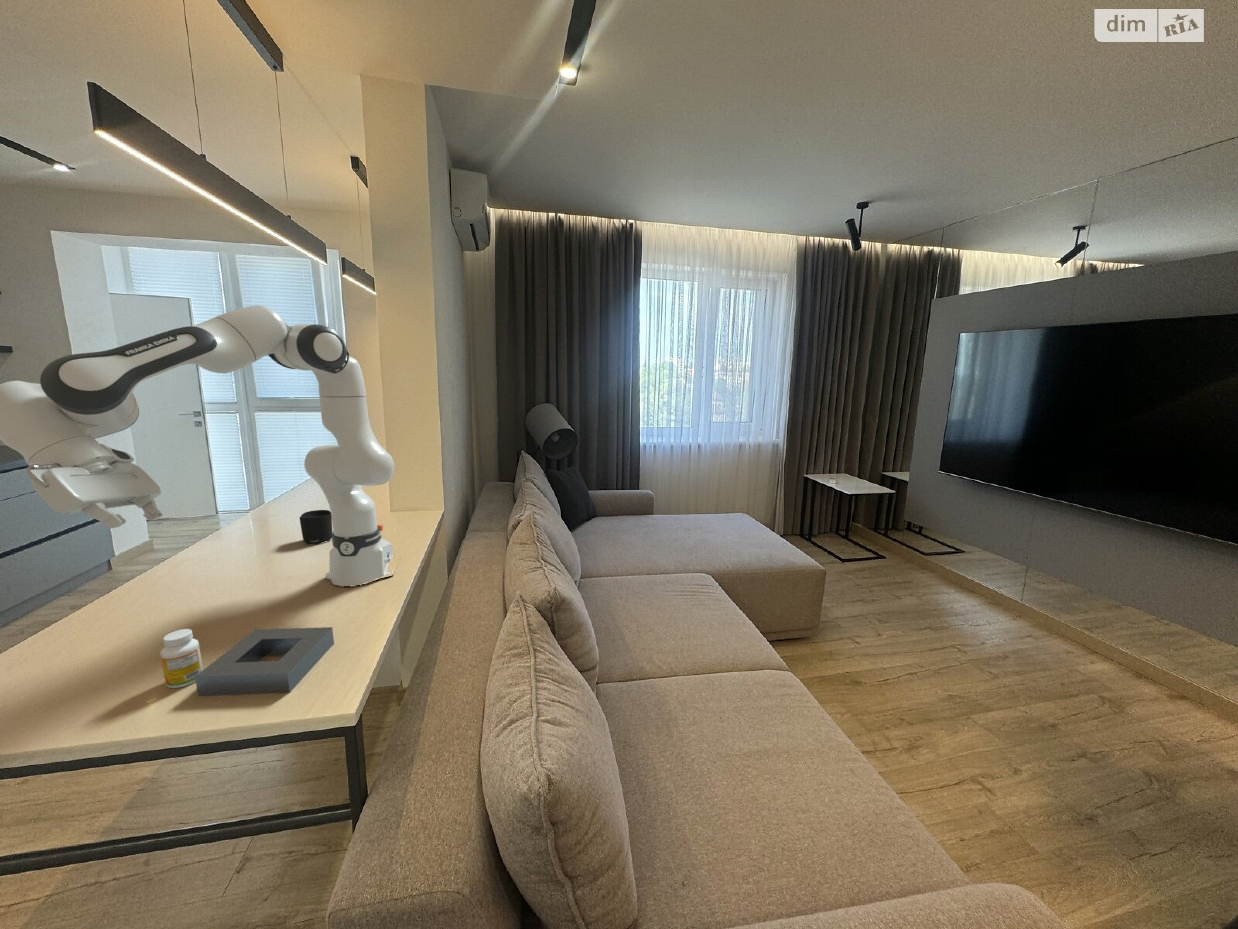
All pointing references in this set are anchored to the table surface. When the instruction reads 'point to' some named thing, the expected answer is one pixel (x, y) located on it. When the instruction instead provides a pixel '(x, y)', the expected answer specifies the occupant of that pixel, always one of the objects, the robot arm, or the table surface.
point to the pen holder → (316, 526)
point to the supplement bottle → (181, 658)
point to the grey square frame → (250, 676)
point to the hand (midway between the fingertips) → (139, 521)
